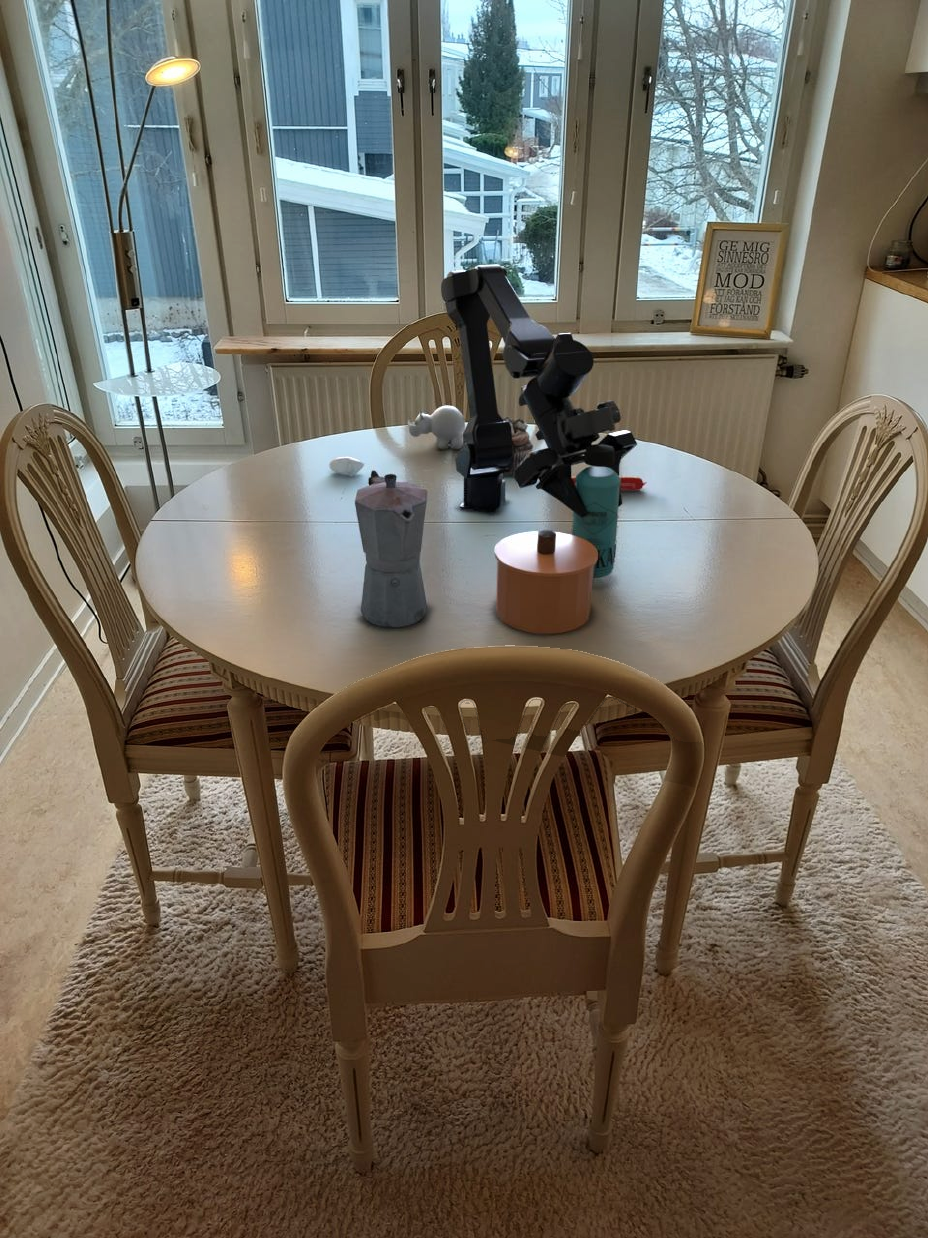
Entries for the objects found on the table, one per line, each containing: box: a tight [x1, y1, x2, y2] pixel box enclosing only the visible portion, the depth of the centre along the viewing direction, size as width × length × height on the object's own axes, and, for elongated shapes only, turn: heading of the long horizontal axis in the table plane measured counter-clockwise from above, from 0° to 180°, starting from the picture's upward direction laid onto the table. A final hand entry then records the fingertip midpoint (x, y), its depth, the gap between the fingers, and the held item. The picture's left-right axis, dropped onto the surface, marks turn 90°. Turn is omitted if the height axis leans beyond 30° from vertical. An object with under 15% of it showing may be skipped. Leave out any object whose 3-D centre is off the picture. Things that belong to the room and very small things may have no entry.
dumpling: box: [328, 456, 365, 477], centre depth 166 cm, size 7×5×4 cm
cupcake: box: [502, 416, 534, 477], centre depth 167 cm, size 10×10×10 cm
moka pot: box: [354, 469, 428, 628], centre depth 112 cm, size 10×15×20 cm, turn 27°
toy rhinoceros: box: [407, 405, 466, 450], centre depth 180 cm, size 7×12×8 cm, turn 89°
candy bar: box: [571, 475, 648, 492], centre depth 158 cm, size 16×4×3 cm, turn 92°
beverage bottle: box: [570, 443, 621, 579], centre depth 121 cm, size 6×7×20 cm
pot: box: [495, 560, 594, 635], centre depth 115 cm, size 13×13×8 cm
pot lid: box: [494, 529, 598, 577], centre depth 113 cm, size 14×14×4 cm
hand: (602, 510), depth 120 cm, fingers closed on beverage bottle, 6 cm apart
